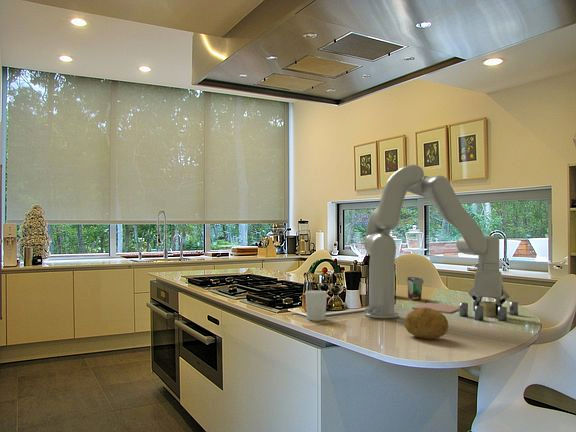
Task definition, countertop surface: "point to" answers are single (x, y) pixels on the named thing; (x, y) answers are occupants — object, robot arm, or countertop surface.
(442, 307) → the terracotta mat
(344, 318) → the countertop surface
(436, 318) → the potato
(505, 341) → the countertop surface
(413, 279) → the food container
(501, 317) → the standoff field
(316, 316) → the white cup
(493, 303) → the brass nut
